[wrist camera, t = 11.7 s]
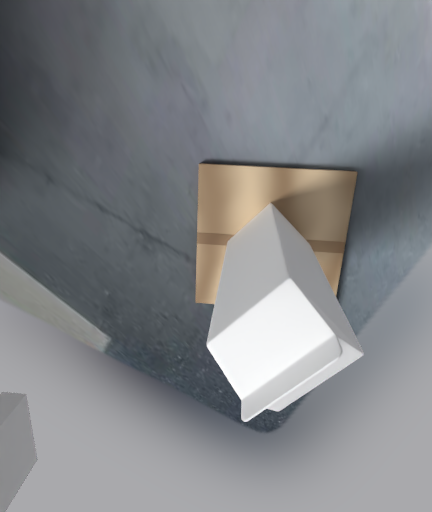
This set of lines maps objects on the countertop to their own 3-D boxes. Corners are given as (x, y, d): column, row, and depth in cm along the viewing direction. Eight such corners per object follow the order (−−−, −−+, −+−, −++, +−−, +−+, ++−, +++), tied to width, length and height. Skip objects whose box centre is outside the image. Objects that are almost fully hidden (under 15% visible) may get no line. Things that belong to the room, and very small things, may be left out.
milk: (227, 241, 37) (192, 383, 16) (271, 201, 35) (295, 304, 15) (266, 281, 38) (281, 462, 17) (311, 244, 36) (387, 398, 16)
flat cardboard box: (196, 299, 41) (195, 302, 40) (200, 163, 35) (198, 163, 35) (331, 310, 39) (333, 313, 39) (355, 171, 34) (357, 172, 34)
